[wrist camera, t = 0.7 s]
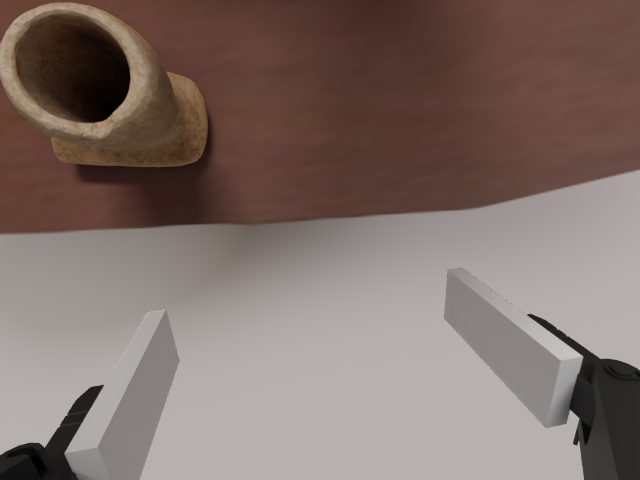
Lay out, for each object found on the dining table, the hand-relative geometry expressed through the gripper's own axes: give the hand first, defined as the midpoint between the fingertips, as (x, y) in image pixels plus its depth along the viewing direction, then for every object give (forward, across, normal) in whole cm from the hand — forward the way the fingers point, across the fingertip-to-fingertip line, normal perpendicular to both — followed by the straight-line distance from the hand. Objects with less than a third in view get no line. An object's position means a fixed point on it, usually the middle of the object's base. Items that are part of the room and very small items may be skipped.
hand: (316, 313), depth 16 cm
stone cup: (+29, -14, +10) cm, 34 cm away
